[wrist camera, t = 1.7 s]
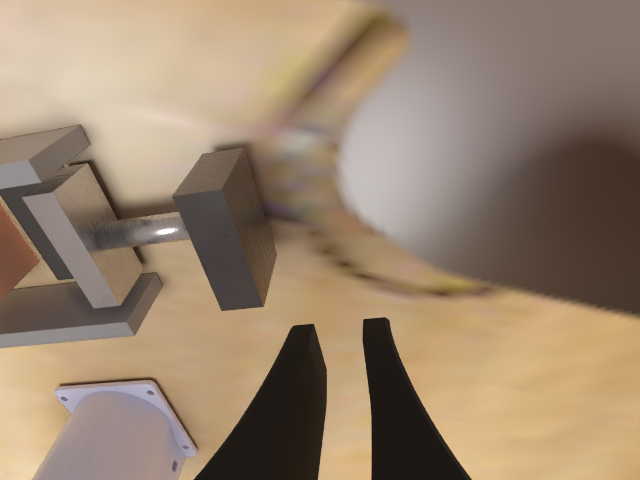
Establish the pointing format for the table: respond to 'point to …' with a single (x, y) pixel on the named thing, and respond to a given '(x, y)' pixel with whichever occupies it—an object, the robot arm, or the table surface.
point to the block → (13, 255)
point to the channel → (57, 257)
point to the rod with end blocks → (162, 230)
